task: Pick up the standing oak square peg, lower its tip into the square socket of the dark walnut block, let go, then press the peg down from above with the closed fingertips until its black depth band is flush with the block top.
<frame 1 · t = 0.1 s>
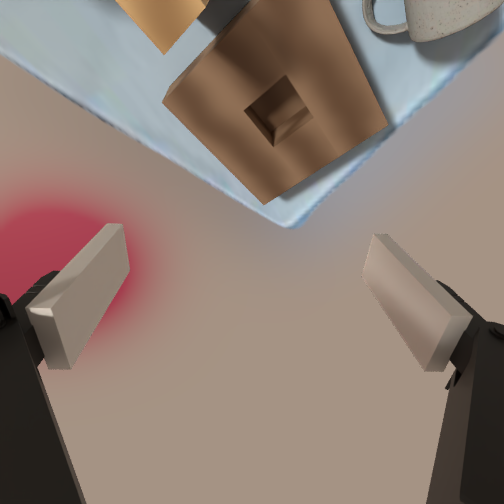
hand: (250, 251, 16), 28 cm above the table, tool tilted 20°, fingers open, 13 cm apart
walnut socket block: (275, 97, 36), on the table
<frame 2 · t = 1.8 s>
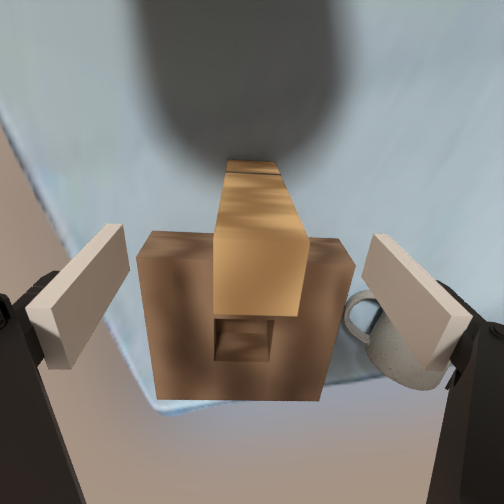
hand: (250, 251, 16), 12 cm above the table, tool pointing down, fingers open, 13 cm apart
ceramic mug: (386, 309, 34), on the table
walnut socket block: (242, 307, 33), on the table
oak peg: (250, 183, 26), on the table
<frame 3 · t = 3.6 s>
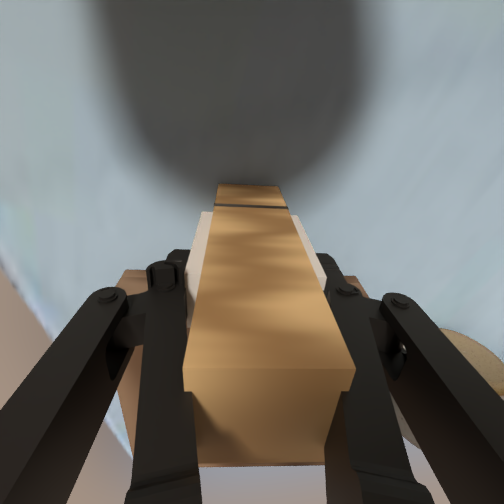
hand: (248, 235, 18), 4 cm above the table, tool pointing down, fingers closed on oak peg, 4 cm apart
ceramic mug: (403, 352, 29), on the table
walnut socket block: (239, 354, 28), on the table
oak peg: (247, 212, 21), on the table, touching gripper
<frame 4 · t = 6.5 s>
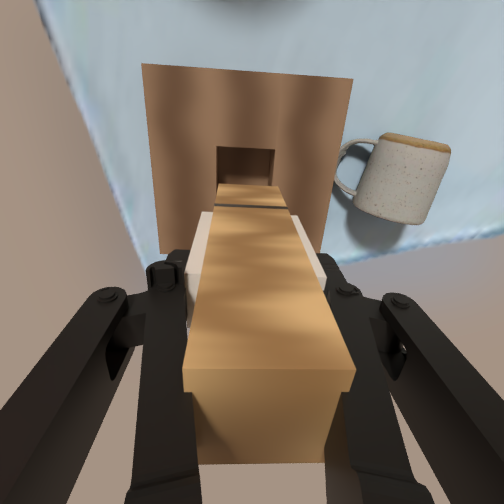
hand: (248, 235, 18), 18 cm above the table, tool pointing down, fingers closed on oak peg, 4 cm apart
ceramic mug: (372, 169, 35), on the table
walnut socket block: (243, 165, 34), on the table
oak peg: (247, 213, 21), point 15 cm above the table, touching gripper
when the fingers open (7 cm above the table, at t = 9.2 s): oak peg drops 2 cm, resting on walnut socket block.
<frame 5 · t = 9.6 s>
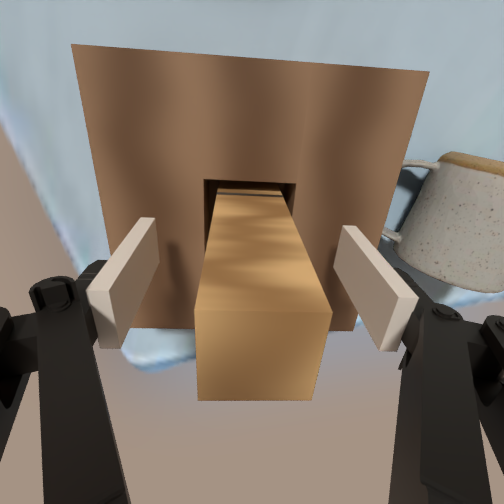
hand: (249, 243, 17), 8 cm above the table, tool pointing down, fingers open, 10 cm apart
ceramic mug: (420, 201, 25), on the table
walnut socket block: (245, 199, 24), on the table
oak peg: (246, 203, 23), point 1 cm above the table, touching walnut socket block
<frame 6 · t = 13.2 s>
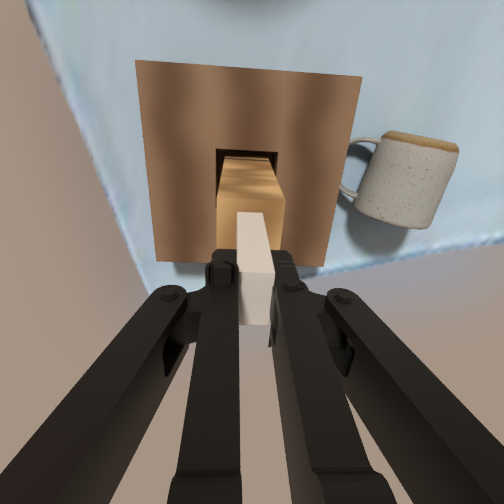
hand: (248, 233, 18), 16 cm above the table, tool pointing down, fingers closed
ceramic mug: (374, 170, 33), on the table
walnut socket block: (244, 168, 32), on the table
oak peg: (245, 170, 31), point 1 cm above the table, touching gripper, walnut socket block
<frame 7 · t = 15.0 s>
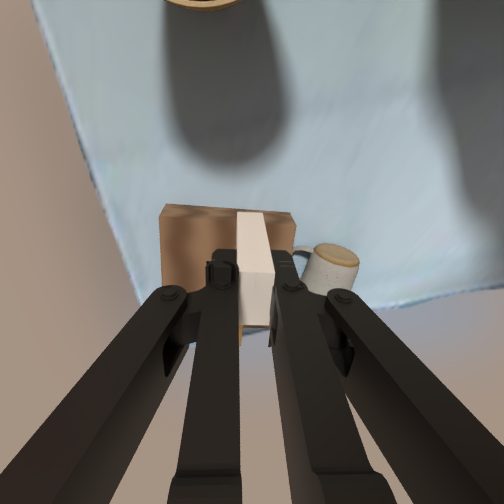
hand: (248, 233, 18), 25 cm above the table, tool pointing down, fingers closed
ceramic mug: (313, 262, 49), on the table
walnut socket block: (225, 261, 47), on the table
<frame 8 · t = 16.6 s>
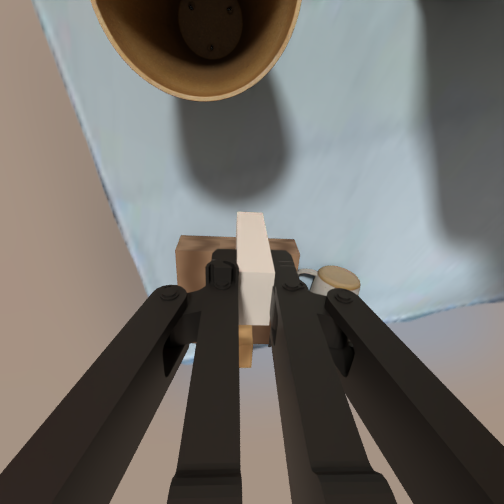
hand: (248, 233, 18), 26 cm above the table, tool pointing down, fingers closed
plant pot: (212, 24, 34), on the table
ceramic mug: (318, 282, 52), on the table
walnut socket block: (236, 284, 52), on the table
oak peg: (236, 287, 51), point 1 cm above the table, touching walnut socket block
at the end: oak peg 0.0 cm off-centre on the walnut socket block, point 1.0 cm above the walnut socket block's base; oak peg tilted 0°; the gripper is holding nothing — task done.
